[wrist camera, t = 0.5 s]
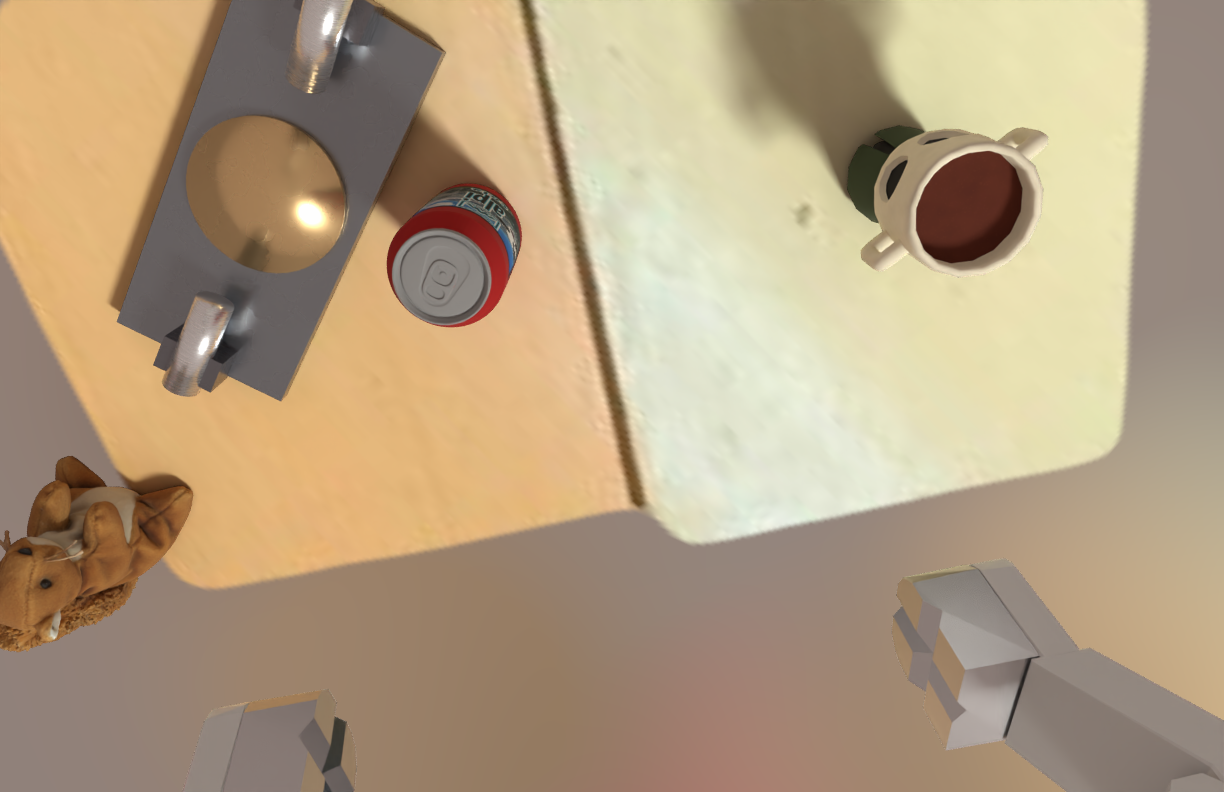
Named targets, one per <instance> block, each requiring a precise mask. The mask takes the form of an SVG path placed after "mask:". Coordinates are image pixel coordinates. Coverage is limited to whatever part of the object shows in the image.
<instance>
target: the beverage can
mask: <svg viewBox="0 0 1224 792" xmlns="http://www.w3.org/2000/svg"><path fill="white" fill-rule="evenodd" d="M521 241H522V232H521V226H520V222H519V219H518V216H517V214H516V212H515V210H514V209H513V207H512V206H511V204H510V203H509V202H508V201H507V200H506V199H505V198H504V197H503V196H502V195H500V194H499V193H498V192H496V191H494V190H493V189H490V188H488V187H486V186H482V185H478V184H459V185H455V186H452V187H449V188H447V189H445V190H444V191H442V192H441V193H439V194H438V195H437V196H435V197H434V198H433V199H432V200H431V201H429V202H428V203H427V204H426V205H425V206H424V207H422V208H421V209H420V210H419V211H418V212H417V213H416V214H415V215H414V216H413V217H412V218H411V219H409V220H408V221H407V222H406V223H405V224H404V225H403V226H402V227H401V228H400V230H399V231H398V232H397V233H396V235H395V236H394V238H393V240H392V242H391V245H390V247H389V251H388V256H387V273H388V278H389V282H390V285H391V287H392V290H393V292H394V294H395V295H396V297H397V298H398V300H399V301H400V303H401V304H402V305H403V306H404V307H405V308H406V309H407V310H408V311H409V312H410V313H412V314H413V315H414V316H416V317H417V318H419V319H421V320H423V321H425V322H427V323H430V324H433V325H437V326H442V327H461V326H466V325H469V324H472V323H475V322H477V321H479V320H480V319H482V318H484V317H485V316H486V315H488V314H489V313H490V312H491V311H492V310H493V309H494V307H495V306H496V305H497V303H498V302H499V300H500V298H501V296H502V294H503V292H504V289H505V287H506V285H507V283H508V280H509V278H510V275H511V273H512V270H513V268H514V265H515V263H516V260H517V257H518V254H519V251H520V247H521Z"/></svg>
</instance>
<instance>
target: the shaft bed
mask: <svg viewBox="0 0 1224 792" xmlns="http://www.w3.org/2000/svg"><path fill="white" fill-rule="evenodd" d="M384 10H385V7H383V6H381V5H380V4H378V3H377V2H375V1H373V0H232V1H231V4H230V7H229V10H228V12H227V15H226V18H225V21H224V24H223V26H222V29H221V32H220V35H219V38H218V40H217V43H216V46H215V49H214V52H213V54H212V57H211V60H210V63H209V66H208V68H207V71H206V74H205V77H204V79H203V82H202V85H201V88H200V91H199V93H198V96H197V99H196V102H195V105H194V107H193V110H192V113H191V116H190V119H189V121H188V124H187V127H186V130H185V133H184V135H183V138H182V141H181V144H180V147H179V149H178V152H177V155H176V158H175V160H174V163H173V166H172V169H171V172H170V174H169V177H168V180H167V183H166V186H165V188H164V191H163V194H162V197H161V200H160V202H159V205H158V208H157V211H156V214H155V216H154V219H153V222H152V225H151V228H150V230H149V233H148V236H147V239H146V241H145V244H144V247H143V250H142V253H141V255H140V258H139V261H138V264H137V267H136V269H135V272H134V275H133V278H132V281H131V283H130V286H129V289H128V292H127V295H126V297H125V300H124V303H123V306H122V309H121V311H120V314H119V317H118V320H117V322H118V323H120V324H122V325H124V326H126V327H128V328H130V329H132V330H134V331H136V332H138V333H141V334H143V335H145V336H147V337H149V338H151V339H153V340H155V341H157V342H159V343H161V346H160V349H159V351H158V354H157V356H156V359H155V362H154V364H153V365H154V366H156V367H158V368H160V369H162V370H165V371H166V372H165V374H164V377H163V379H162V384H163V386H164V387H165V388H166V389H167V390H168V391H170V392H172V393H174V394H177V395H180V396H187V397H190V396H195V395H197V394H198V393H199V392H200V390H201V388H202V389H204V390H207V391H209V392H212V391H213V390H214V389H215V388H216V387H217V386H218V385H219V384H221V383H222V382H223V381H224V380H225V379H226V378H227V376H229V377H232V378H234V379H236V380H238V381H240V382H242V383H244V384H246V385H248V386H250V387H252V388H254V389H256V390H258V391H261V392H263V393H265V394H267V395H269V396H271V397H273V398H275V399H277V400H279V401H282V400H283V398H284V397H285V396H286V395H287V393H288V391H289V389H290V387H291V385H292V383H293V380H294V378H295V376H296V374H297V372H298V370H299V368H300V365H301V363H302V361H303V359H304V357H305V355H306V352H307V350H308V348H309V346H310V344H311V342H312V340H313V337H314V335H315V333H316V331H317V329H318V327H319V325H320V322H321V320H322V318H323V316H324V314H325V312H326V309H327V307H328V305H329V303H330V301H331V299H332V297H333V294H334V292H335V290H336V288H337V286H338V284H339V282H340V279H341V277H342V275H343V273H344V271H345V269H346V266H347V264H348V262H349V260H350V258H351V256H352V254H353V251H354V249H355V247H356V245H357V243H358V241H359V238H360V236H361V234H362V232H363V230H364V228H365V226H366V223H367V221H368V219H369V217H370V215H371V213H372V211H373V208H374V206H375V204H376V202H377V200H378V198H379V195H380V193H381V191H382V189H383V187H384V185H385V183H386V180H387V178H388V176H389V174H390V172H391V170H392V167H393V165H394V163H395V161H396V159H397V157H398V155H399V152H400V150H401V148H402V146H403V144H404V142H405V140H406V137H407V135H408V133H409V131H410V129H411V127H412V124H413V122H414V120H415V118H416V116H417V114H418V112H419V109H420V107H421V105H422V103H423V101H424V99H425V96H426V94H427V92H428V90H429V88H430V86H431V84H432V81H433V79H434V77H435V75H436V73H437V71H438V69H439V66H440V64H441V62H442V60H443V58H444V56H445V53H446V52H444V51H443V50H441V49H439V48H438V47H436V46H434V45H433V44H431V43H429V42H428V41H426V40H425V39H423V38H421V37H420V36H418V35H416V34H415V33H413V32H411V31H410V30H408V29H406V28H405V27H403V26H402V25H400V24H398V23H397V22H395V21H393V20H392V19H390V18H388V17H387V16H385V15H384V14H383V12H384Z"/></svg>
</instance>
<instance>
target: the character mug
mask: <svg viewBox="0 0 1224 792" xmlns="http://www.w3.org/2000/svg"><path fill="white" fill-rule="evenodd" d="M875 135H876V136H878V137H880V138H881V139H883V140H884V141H882V142H879V143H877V144H875V146H874V147H873V148H872V147H869V146H867V145H864V144H862V145H861V146H860V147H859V148H858V149H857V151H856V153H855V155H854V157H853V159H852V162H851V164H850V166H849V170H848V186H847V190H848V192H849V194H850V196H851V198H852V201H853V203H854V205H855V207H856V209H857V210H858V211H860V212H861V213H862V214H863V215H865V216H866V217H867V218H868V219H870V220H871V221H873V222H876V223H879V224H880V227H881V229H882V232H881V233H880V234H879V235H877V236H876V237H875V238H873V239H872V240H871V241H870V242H868V243H867V244H866V245H865V246H864V247H863V248H862V249H861V258H862V260H863V261H864V262H866V263H867V264H868V265H869V266H870V267H872V268H873V269H875V270H877V271H884V270H886V269H887V268H889V267H891V266H892V265H894V264H895V263H896V262H897V261H899V260H900V259H901V258H903V257H904V256H905V255H907V254H909V255H910V256H912V257H913V258H915V259H916V260H918V261H919V262H921V263H922V264H923V265H925V266H926V267H928V268H929V269H931V270H933V271H936V272H940V273H943V274H947V275H951V276H954V277H958V278H960V277H968V276H976V275H985V274H986V273H988V272H990V271H992V270H994V269H996V268H998V267H1000V266H1002V265H1004V264H1006V263H1008V262H1010V261H1011V260H1012V259H1013V258H1014V257H1015V256H1016V255H1017V253H1018V252H1019V251H1020V250H1021V249H1022V248H1023V247H1024V246H1025V245H1026V244H1027V243H1028V242H1029V241H1030V238H1031V236H1032V234H1033V232H1034V230H1035V228H1036V226H1037V224H1038V222H1039V219H1040V217H1041V210H1042V199H1043V187H1042V184H1041V181H1040V178H1039V175H1038V173H1037V170H1036V167H1035V165H1034V164H1033V163H1032V162H1030V161H1029V160H1030V159H1032V158H1033V157H1034V156H1035V155H1037V154H1038V153H1039V152H1040V151H1042V150H1043V149H1044V148H1045V147H1046V146H1047V145H1048V136H1047V135H1046V134H1044V133H1043V132H1041V131H1038V130H1033V129H1028V128H1016V129H1014V130H1012V131H1011V132H1009V133H1007V134H1006V135H1005V136H1004V137H1002V138H1001V139H1000V140H998V141H995V140H993V139H991V138H989V137H986V136H983V135H980V134H974V133H970V132H967V131H964V130H960V129H942V130H936V131H929V132H924V131H922V130H920V129H915V128H909V127H904V126H896V127H892V128H888V129H884V130H880V131H878V132H877V133H876V134H875Z"/></svg>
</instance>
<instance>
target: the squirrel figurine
mask: <svg viewBox="0 0 1224 792" xmlns="http://www.w3.org/2000/svg"><path fill="white" fill-rule="evenodd" d="M55 476H56V478H55V479H56V481H53V482H51V483H49V484H48V485H46V486H45V487H44V488H43V489H42V490H41V491H40V492H39V494H38V495H37V497H36V499H35V501H34V503H33V506H32V509H31V514H30V517H29V521H28V526H27V537H25V538H21V539H20V540H17V541H16V542H14V543H13V544H12V545H10V544H11V543H10V538H9V531H7V530H6V531H5V540H4V542H2V541H1V540H0V545H1V546H2V547H3V548H4V550H6V554H5V556H4V557H3V559H2V560H1V561H0V648H1V649H4V650H8V651H17V652H20V651H23V650H26V651H28V650H29V649H30V648H32V647H35V646H38V645H39V646H41V644H42V643H47V642H53V641H56V640H58V639H59V638H60V637H63V636H64V635H66V634H70V632H72V631H73V630H76V629H77V628H78V627H79V626H85V625H87V626H88V625H91V624H93V623H94V624H96V623H97V622H98V621H101V620H102V619H103V617H104V616H107V617H108V616H110V615H111V614H112V613H113V612H114V611H115V610H120V609H119V608H120V607H121V606H122V605H125V603H126V601H127V600H128V598H129V597H130V595H131V593H132V589H134V588H136V587H135V584H136V582H137V580H138V577H139V576H140V575H142V574H144V573H145V572H146V571H147V570H149V569H150V568H151V567H152V566H154V565H155V564H156V563H157V562H158V561H159V560H160V559H161V558H162V557H163V556H164V555H165V553H166V552H167V551H168V550H169V549H170V547H171V546H172V544H173V543H174V542H175V540H176V538H177V536H178V534H179V532H180V531H181V529H182V527H183V525H184V523H185V521H186V519H187V517H188V515H189V512H190V509H191V506H192V499H193V492H192V491H191V490H190V489H188V488H186V487H184V486H177V487H171V488H167V489H164V490H160V491H155V492H151V493H148V494H144V495H142V496H140V495H139V494H138V493H137V492H135V491H133V490H130V489H127V488H124V487H107V486H106V485H105V483H104V481H103V480H102V479H101V478H100V477H98V475H96V474H95V473H94V472H93V471H91V470H90V469H89V468H88V467H87V466H85V465H84V464H83V463H82V462H80V461H79V460H78V459H76V458H75V457H73V456H67V457H64V458H62V459H60V460H59V461H58V462H57V464H56V475H55Z"/></svg>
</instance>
